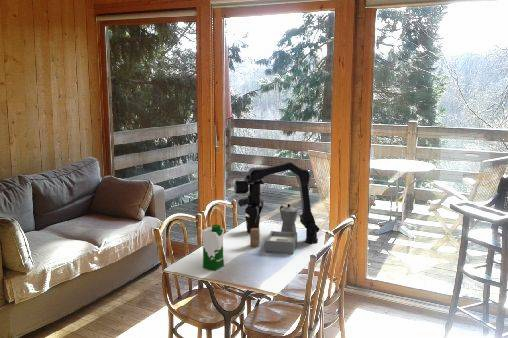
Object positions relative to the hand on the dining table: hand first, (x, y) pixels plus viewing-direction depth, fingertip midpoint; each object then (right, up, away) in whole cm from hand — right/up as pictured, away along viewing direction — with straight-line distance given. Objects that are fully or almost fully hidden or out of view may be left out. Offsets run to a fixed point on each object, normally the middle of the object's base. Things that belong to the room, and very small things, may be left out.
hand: (254, 222), depth 245 cm
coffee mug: (-1, -9, +24) cm, 26 cm away
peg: (0, -13, +3) cm, 13 cm away
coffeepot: (+18, -9, +20) cm, 29 cm away
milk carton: (-19, -18, -24) cm, 36 cm away
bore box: (+14, -13, 0) cm, 19 cm away
